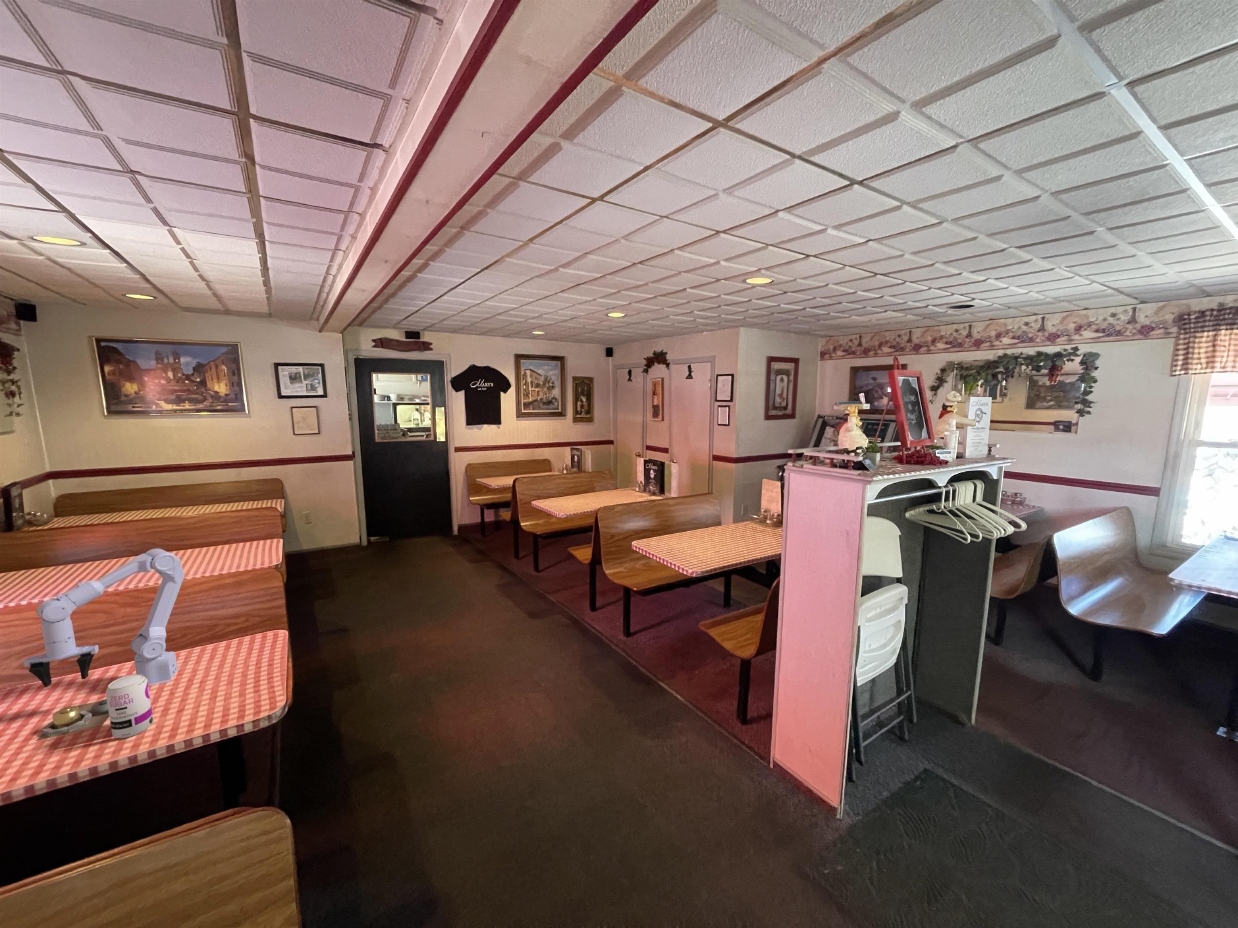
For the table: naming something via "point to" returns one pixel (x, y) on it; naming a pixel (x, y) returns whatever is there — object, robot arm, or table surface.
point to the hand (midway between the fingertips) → (66, 681)
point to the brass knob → (66, 717)
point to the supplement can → (129, 706)
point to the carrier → (90, 718)
